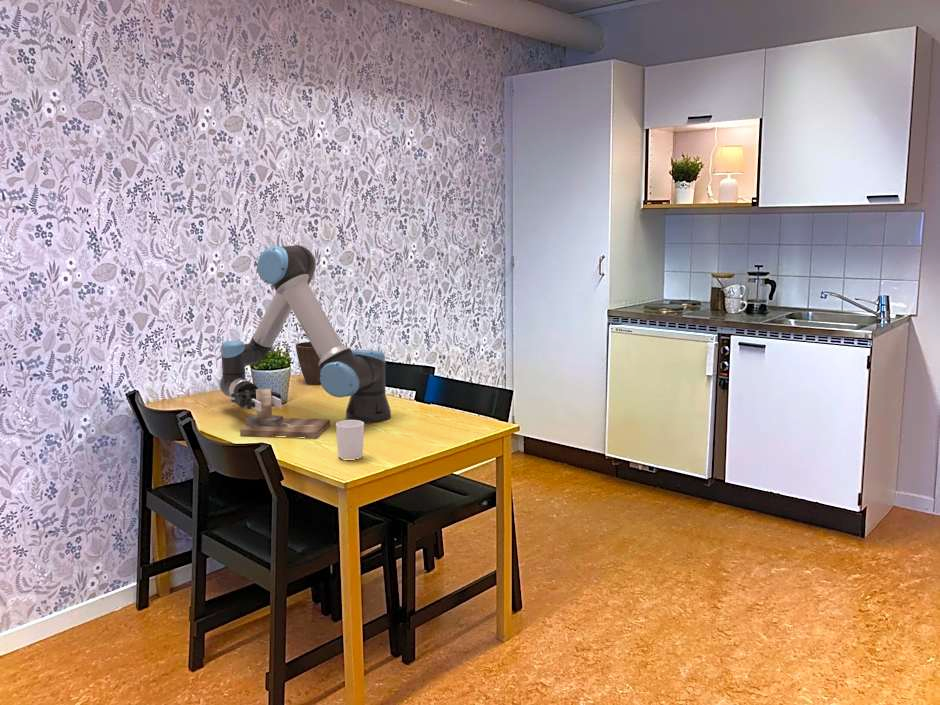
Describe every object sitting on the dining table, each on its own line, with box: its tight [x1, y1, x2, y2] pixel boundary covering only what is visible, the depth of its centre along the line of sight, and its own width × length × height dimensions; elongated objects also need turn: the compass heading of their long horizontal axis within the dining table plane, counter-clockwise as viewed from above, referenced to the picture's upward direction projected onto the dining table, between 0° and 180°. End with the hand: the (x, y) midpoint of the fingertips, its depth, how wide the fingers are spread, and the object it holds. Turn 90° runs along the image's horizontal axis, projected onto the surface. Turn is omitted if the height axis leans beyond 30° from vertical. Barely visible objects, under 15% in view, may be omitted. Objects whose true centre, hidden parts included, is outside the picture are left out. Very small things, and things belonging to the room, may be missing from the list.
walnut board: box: [239, 417, 331, 439], centre depth 255 cm, size 24×16×2 cm, turn 84°
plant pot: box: [295, 341, 321, 386], centre depth 325 cm, size 15×15×16 cm
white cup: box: [335, 419, 365, 459], centre depth 227 cm, size 8×8×10 cm
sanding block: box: [245, 387, 284, 427], centre depth 255 cm, size 10×6×11 cm, turn 84°
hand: (270, 405), depth 250 cm, fingers open, 6 cm apart
